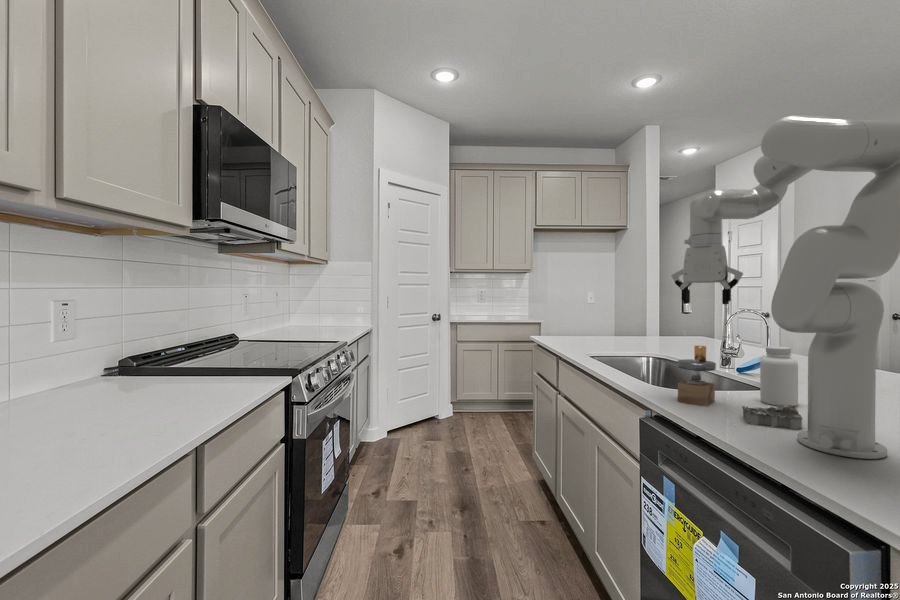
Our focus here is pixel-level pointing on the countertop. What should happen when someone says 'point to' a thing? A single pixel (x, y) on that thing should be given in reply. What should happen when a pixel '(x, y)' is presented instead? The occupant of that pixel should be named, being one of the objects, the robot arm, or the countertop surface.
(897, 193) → the robot arm
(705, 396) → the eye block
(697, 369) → the grey knobbed disc
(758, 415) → the egg carton
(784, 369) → the pill bottle
